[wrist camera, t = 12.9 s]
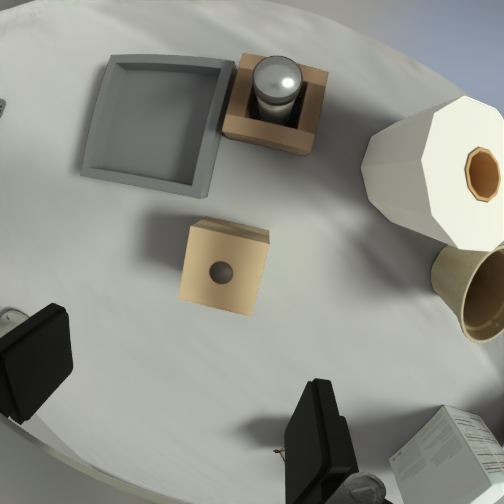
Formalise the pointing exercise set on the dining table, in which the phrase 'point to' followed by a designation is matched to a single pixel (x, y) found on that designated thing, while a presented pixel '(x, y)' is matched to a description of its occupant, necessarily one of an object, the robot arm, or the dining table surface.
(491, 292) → the flower pot
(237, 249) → the oak block
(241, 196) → the dining table surface
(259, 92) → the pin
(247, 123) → the square wooden socket
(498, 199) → the toilet paper
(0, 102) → the toy car
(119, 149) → the tray
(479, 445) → the supplement box
